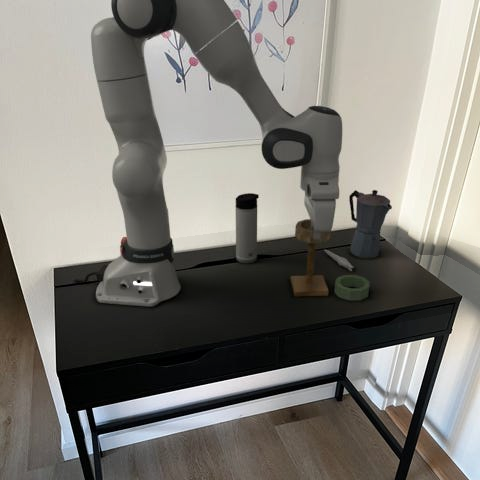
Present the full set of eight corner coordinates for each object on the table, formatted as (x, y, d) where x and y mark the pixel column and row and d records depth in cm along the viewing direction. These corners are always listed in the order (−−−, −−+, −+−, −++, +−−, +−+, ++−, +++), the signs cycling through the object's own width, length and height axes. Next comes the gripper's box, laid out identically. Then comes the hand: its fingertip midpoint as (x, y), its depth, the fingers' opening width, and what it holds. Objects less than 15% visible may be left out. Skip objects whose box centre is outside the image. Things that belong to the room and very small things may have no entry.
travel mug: (256, 264, 153) (256, 198, 142) (234, 262, 154) (233, 197, 143) (259, 255, 158) (260, 191, 147) (238, 254, 159) (237, 190, 149)
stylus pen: (356, 270, 149) (357, 264, 148) (348, 272, 148) (349, 266, 147) (327, 251, 160) (328, 245, 159) (320, 252, 159) (320, 247, 158)
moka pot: (374, 265, 152) (384, 199, 141) (333, 249, 161) (339, 186, 151) (393, 255, 157) (403, 191, 147) (352, 241, 167) (359, 179, 156)
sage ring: (337, 300, 134) (338, 290, 133) (331, 285, 142) (332, 275, 140) (372, 300, 134) (374, 290, 133) (364, 284, 142) (365, 274, 140)
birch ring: (297, 243, 128) (297, 232, 127) (293, 230, 136) (293, 219, 134) (333, 242, 129) (335, 231, 127) (327, 229, 136) (328, 218, 135)
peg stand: (294, 296, 136) (297, 248, 129) (290, 280, 144) (292, 234, 137) (328, 295, 137) (332, 247, 129) (322, 279, 144) (326, 233, 137)
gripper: (300, 168, 130) (297, 220, 137) (312, 194, 112) (308, 253, 120) (325, 168, 130) (321, 220, 137) (341, 194, 112) (335, 252, 120)
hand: (315, 235), depth 128 cm, fingers closed on birch ring
